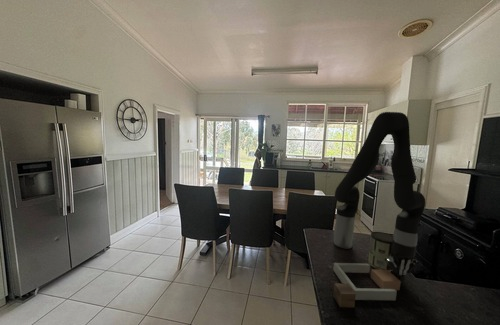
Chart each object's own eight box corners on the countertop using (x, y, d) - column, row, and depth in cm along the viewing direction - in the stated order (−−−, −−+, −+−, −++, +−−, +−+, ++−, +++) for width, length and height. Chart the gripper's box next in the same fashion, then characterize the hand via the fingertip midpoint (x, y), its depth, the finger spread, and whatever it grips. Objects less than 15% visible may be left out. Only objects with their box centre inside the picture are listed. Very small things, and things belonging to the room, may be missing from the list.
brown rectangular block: (370, 278, 85) (371, 269, 84) (386, 278, 85) (387, 269, 85) (381, 290, 78) (383, 281, 77) (399, 290, 78) (400, 281, 78)
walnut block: (333, 296, 73) (334, 283, 73) (346, 296, 74) (348, 283, 73) (339, 307, 69) (341, 293, 68) (354, 307, 69) (355, 294, 68)
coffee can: (387, 260, 98) (391, 232, 97) (398, 273, 88) (402, 243, 87) (364, 257, 100) (367, 230, 99) (372, 269, 90) (376, 239, 89)
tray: (333, 270, 88) (334, 262, 88) (367, 271, 89) (368, 263, 89) (354, 299, 72) (355, 290, 72) (395, 300, 73) (396, 291, 72)
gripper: (412, 236, 83) (406, 275, 85) (381, 236, 83) (376, 275, 84) (429, 246, 76) (423, 288, 78) (395, 245, 75) (390, 288, 77)
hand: (398, 281), depth 81 cm, fingers closed
